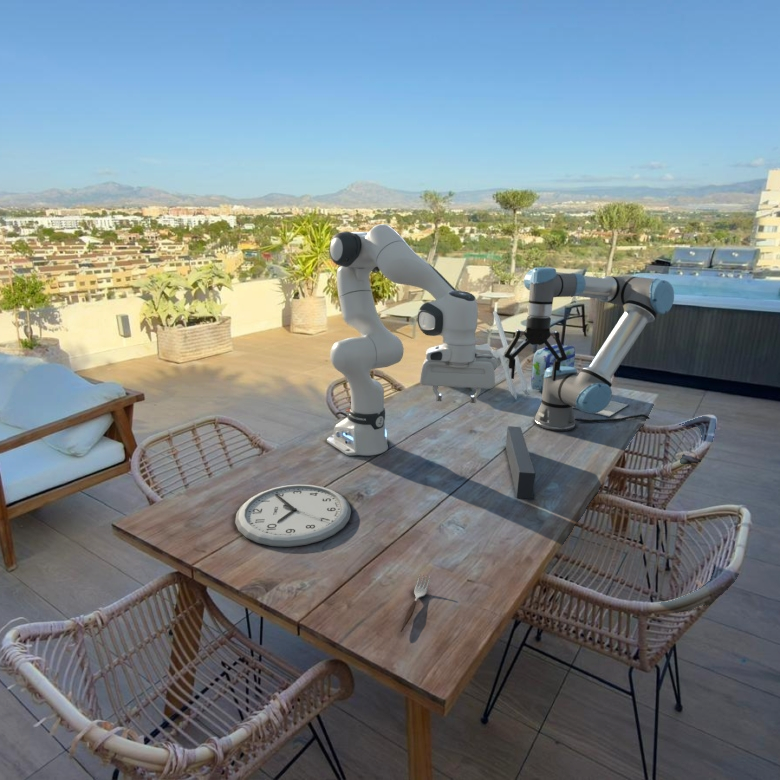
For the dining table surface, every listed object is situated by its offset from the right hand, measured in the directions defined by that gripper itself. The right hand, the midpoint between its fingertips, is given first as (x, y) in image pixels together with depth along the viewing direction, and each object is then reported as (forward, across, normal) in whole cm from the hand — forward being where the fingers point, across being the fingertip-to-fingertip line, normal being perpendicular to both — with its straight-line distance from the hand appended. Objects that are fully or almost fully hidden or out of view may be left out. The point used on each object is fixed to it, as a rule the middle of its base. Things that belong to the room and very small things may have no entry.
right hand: (532, 378), depth 177 cm
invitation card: (+25, -38, -49) cm, 67 cm away
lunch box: (+25, -21, -73) cm, 80 cm away
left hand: (-2, +26, +36) cm, 44 cm away
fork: (+25, +33, +87) cm, 96 cm away
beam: (+25, +5, +20) cm, 32 cm away
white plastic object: (+25, +14, -61) cm, 67 cm away
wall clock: (+25, +67, +56) cm, 91 cm away
